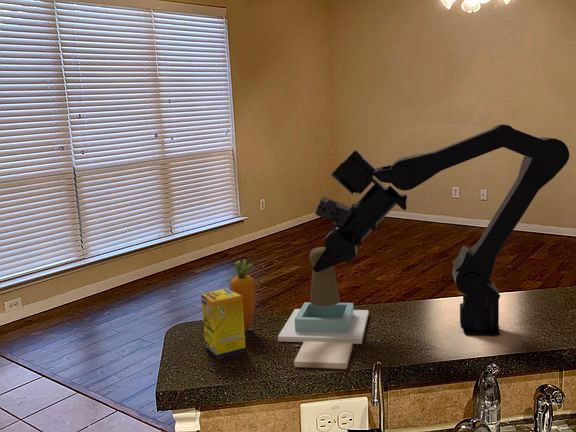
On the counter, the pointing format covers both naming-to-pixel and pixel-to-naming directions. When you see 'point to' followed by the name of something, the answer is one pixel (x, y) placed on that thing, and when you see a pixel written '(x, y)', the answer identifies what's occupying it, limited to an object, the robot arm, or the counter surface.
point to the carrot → (245, 291)
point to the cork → (323, 283)
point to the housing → (325, 324)
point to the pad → (324, 355)
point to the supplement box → (223, 322)
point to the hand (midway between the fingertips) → (316, 267)
